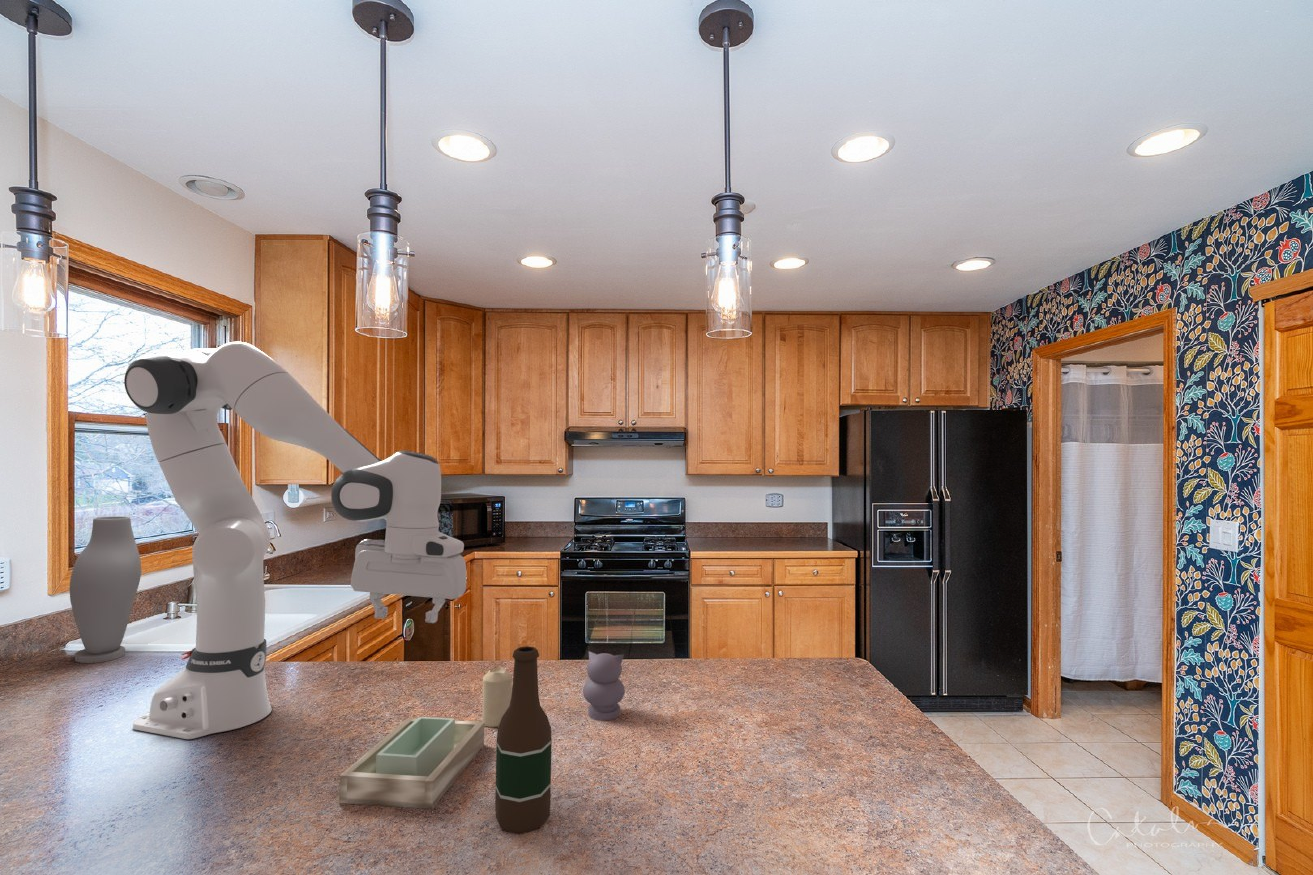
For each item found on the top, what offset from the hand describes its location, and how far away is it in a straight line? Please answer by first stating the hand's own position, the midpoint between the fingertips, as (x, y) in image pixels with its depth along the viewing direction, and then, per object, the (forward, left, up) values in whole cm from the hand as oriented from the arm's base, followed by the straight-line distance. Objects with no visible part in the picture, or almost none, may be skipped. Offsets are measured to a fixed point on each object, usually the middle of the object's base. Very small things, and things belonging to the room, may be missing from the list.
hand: (405, 619), depth 110 cm
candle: (+13, +12, -22) cm, 29 cm away
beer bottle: (+28, -19, -22) cm, 40 cm away
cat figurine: (+33, +18, -22) cm, 44 cm away
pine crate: (+7, -8, -22) cm, 25 cm away
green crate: (+7, -8, -21) cm, 24 cm away
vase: (-98, +37, -22) cm, 107 cm away
